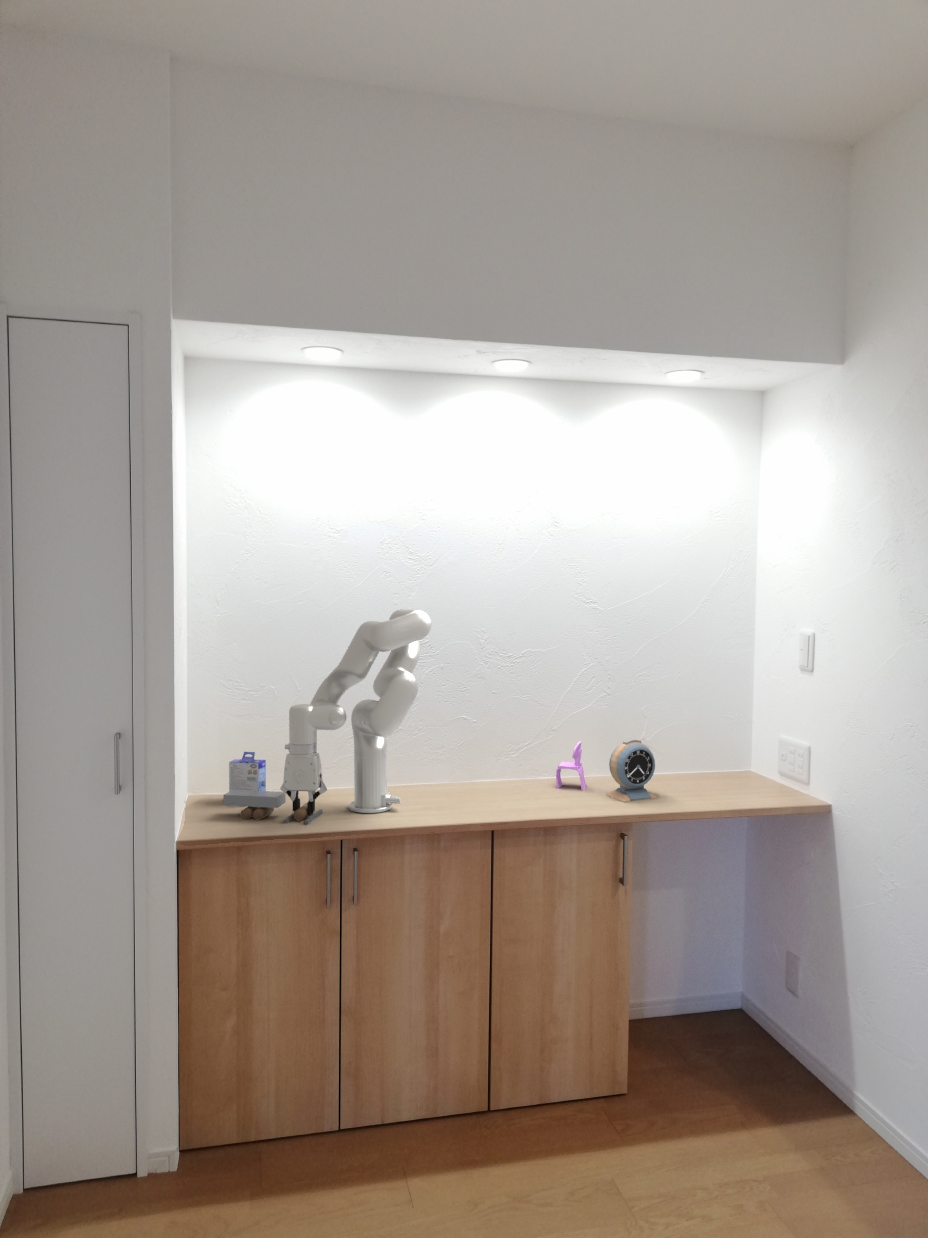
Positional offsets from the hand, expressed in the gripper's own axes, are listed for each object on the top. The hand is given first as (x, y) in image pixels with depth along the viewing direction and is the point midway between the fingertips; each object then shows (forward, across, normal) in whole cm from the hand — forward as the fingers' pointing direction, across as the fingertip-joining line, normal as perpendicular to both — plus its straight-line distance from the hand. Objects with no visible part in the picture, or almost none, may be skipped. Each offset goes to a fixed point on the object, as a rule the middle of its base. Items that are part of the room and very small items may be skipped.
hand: (303, 813), depth 246 cm
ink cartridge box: (+1, -24, +16) cm, 28 cm away
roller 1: (-1, -17, 0) cm, 17 cm away
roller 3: (+1, 0, 0) cm, 1 cm away
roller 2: (0, -10, 0) cm, 11 cm away
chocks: (+1, 0, 0) cm, 1 cm away
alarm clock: (+2, +90, +40) cm, 99 cm away
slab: (-2, -15, 0) cm, 15 cm away
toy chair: (+2, +72, +50) cm, 87 cm away
